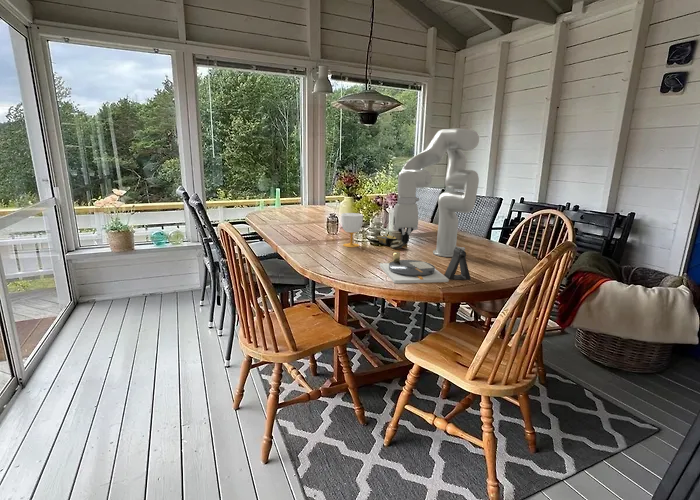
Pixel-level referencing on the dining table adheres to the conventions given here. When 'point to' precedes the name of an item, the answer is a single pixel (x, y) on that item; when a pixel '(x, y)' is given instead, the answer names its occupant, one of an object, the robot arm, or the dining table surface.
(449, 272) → the dark grey a-frame stand
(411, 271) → the disc
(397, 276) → the base
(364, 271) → the dining table surface
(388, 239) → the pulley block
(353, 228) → the cup
